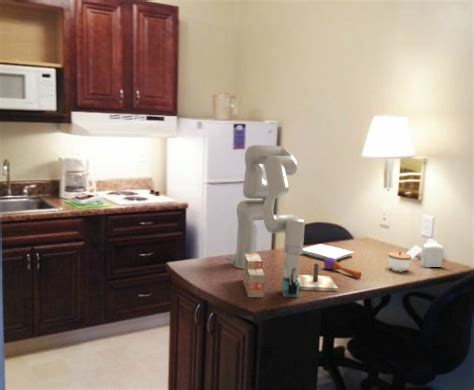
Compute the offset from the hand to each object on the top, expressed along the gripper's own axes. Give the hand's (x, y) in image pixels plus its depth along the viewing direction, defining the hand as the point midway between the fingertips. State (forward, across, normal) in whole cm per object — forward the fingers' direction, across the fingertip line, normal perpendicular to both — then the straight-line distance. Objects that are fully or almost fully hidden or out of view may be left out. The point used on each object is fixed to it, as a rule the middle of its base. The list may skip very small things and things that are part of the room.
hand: (290, 290), depth 202 cm
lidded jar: (+2, -42, +60) cm, 73 cm away
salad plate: (+2, -63, +29) cm, 70 cm away
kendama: (+2, -33, +29) cm, 44 cm away
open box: (+2, 0, 0) cm, 2 cm away
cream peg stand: (+2, -14, +13) cm, 19 cm away
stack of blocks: (+2, -6, -15) cm, 16 cm away
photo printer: (+2, -50, +80) cm, 94 cm away
